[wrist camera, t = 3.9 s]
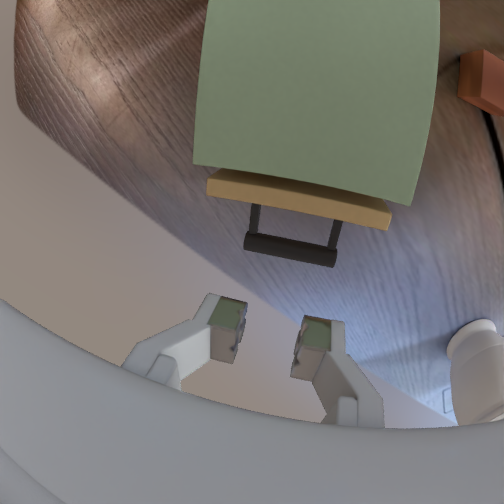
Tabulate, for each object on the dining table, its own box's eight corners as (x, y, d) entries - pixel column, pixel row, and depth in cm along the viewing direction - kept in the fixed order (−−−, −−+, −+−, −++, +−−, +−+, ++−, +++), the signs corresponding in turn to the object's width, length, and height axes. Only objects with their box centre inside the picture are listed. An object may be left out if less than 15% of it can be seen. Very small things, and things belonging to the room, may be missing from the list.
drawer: (354, 243, 25) (364, 295, 18) (233, 219, 27) (203, 261, 20) (393, 46, 16) (425, 22, 9) (254, 23, 17) (225, -10, 11)
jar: (425, 352, 31) (444, 450, 18) (478, 299, 25) (523, 396, 13) (463, 370, 31) (482, 452, 18) (509, 326, 26) (544, 407, 13)
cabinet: (378, 169, 22) (410, 206, 14) (236, 143, 24) (192, 164, 16) (399, 19, 15) (438, -20, 6) (254, -5, 17) (218, -53, 8)
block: (460, 55, 14) (483, 48, 11) (495, 74, 14) (521, 73, 10) (456, 96, 17) (480, 97, 13) (491, 114, 16) (517, 119, 12)
